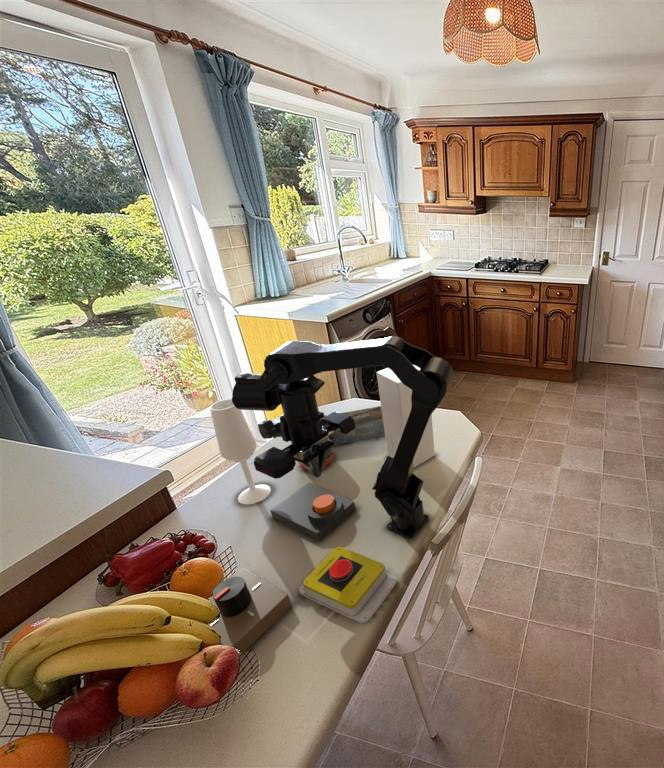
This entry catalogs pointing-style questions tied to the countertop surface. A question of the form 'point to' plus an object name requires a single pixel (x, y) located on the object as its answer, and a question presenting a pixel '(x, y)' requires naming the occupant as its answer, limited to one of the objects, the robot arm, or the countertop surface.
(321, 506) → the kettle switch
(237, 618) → the dial console
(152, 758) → the countertop surface
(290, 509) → the emergency button base
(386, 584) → the emergency button
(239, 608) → the knob
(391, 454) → the tall white carton
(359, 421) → the beverage carton
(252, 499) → the champagne flute
